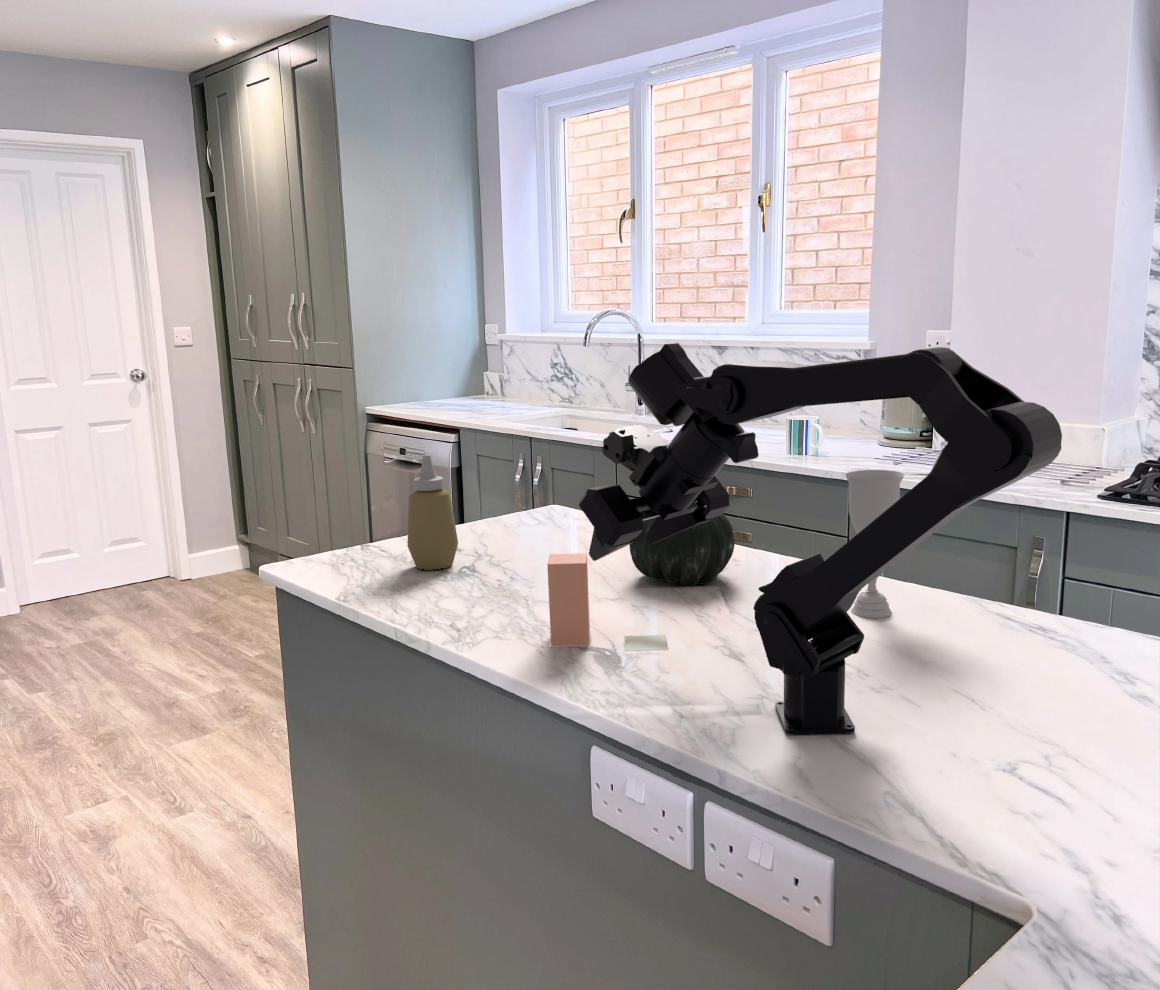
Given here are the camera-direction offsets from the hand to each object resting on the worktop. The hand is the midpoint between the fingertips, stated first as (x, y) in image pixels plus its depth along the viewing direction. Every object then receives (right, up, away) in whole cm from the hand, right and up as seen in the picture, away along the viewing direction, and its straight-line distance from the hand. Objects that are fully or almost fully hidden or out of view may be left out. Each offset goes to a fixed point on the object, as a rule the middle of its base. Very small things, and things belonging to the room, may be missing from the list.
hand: (621, 548), depth 108 cm
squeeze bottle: (-28, -6, +46) cm, 54 cm away
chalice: (+33, -9, +16) cm, 38 cm away
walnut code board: (-1, -12, +6) cm, 14 cm away
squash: (+11, -7, +33) cm, 36 cm away
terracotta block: (-6, -11, +8) cm, 15 cm away
